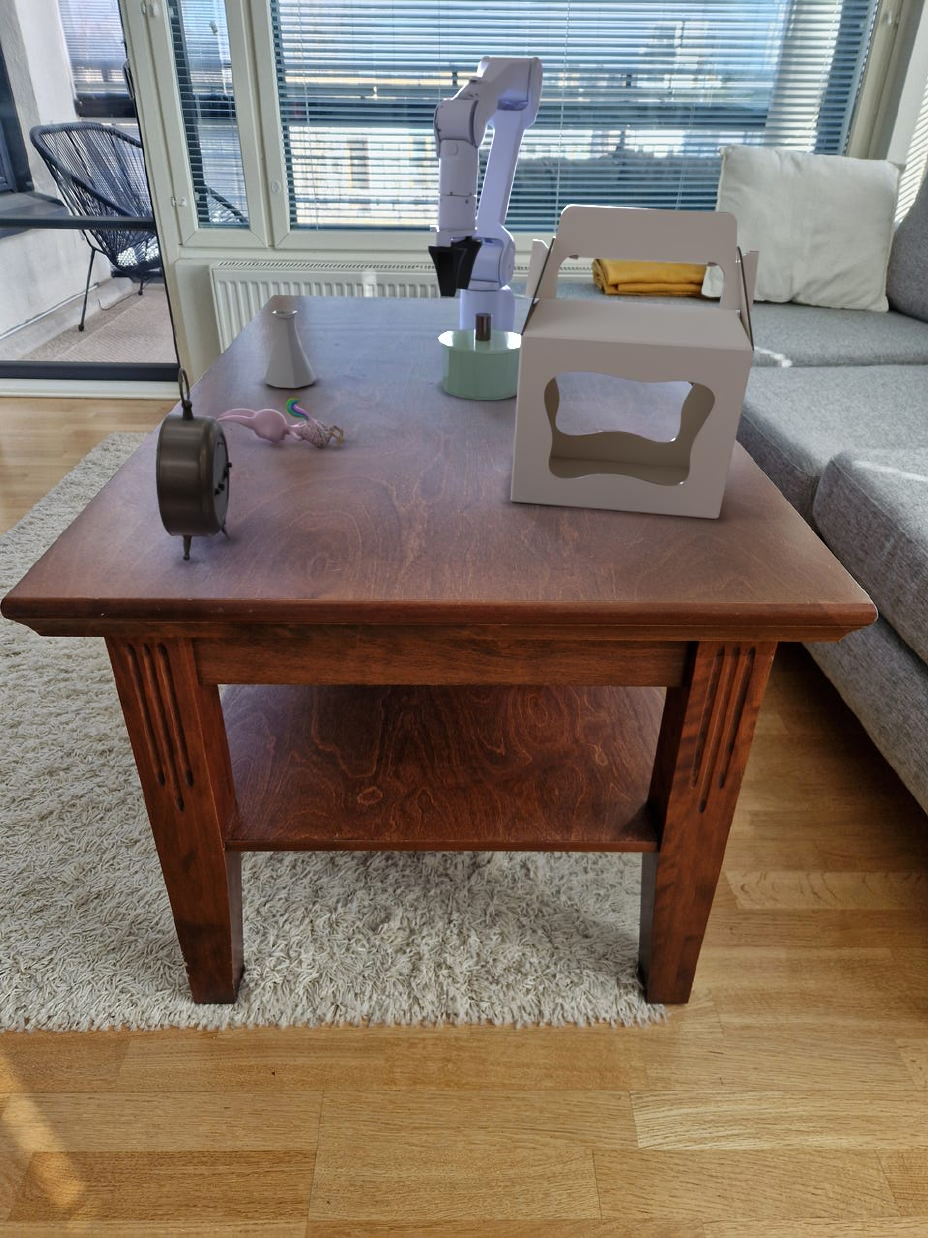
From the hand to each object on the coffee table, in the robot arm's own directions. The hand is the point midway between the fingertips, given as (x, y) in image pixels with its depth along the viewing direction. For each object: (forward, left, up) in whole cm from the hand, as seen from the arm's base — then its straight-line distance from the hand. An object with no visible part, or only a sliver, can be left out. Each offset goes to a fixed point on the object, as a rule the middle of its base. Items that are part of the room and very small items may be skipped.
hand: (454, 292), depth 129 cm
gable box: (+22, +49, -11) cm, 55 cm away
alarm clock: (+62, +31, -11) cm, 70 cm away
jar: (+7, +14, -10) cm, 19 cm away
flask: (+27, -6, -11) cm, 30 cm away
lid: (+7, +13, -4) cm, 15 cm away
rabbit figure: (+42, +14, -11) cm, 46 cm away
